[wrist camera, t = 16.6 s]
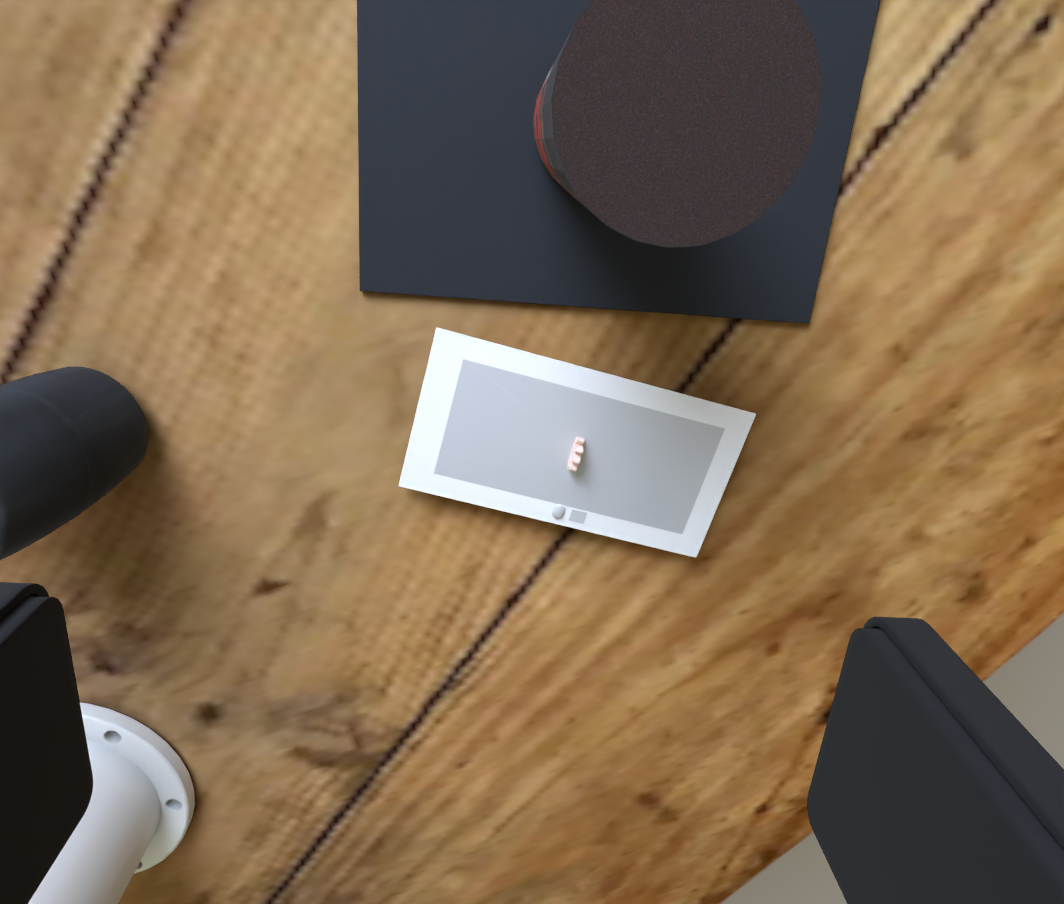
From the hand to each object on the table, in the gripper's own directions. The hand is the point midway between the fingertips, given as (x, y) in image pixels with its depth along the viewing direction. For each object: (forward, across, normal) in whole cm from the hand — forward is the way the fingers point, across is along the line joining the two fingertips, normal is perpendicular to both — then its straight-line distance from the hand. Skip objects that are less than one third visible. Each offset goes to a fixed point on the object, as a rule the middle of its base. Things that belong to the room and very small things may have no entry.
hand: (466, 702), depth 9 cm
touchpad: (+26, -4, +6) cm, 27 cm away
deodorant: (+26, -4, -8) cm, 27 cm away
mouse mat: (+26, -4, -8) cm, 27 cm away
